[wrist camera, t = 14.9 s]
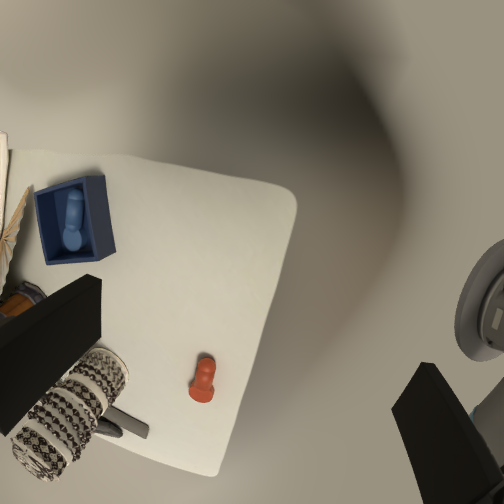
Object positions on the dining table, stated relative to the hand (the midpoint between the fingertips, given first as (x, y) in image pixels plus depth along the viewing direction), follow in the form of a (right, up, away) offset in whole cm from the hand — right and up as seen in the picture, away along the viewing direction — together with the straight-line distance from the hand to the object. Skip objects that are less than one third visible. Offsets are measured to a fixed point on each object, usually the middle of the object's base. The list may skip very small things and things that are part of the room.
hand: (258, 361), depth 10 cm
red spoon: (-7, -15, +30) cm, 35 cm away
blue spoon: (-25, +8, +25) cm, 36 cm away
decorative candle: (-25, -16, +32) cm, 44 cm away
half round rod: (-29, -27, +36) cm, 53 cm away
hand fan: (-47, +8, +28) cm, 55 cm away
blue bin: (-25, +9, +26) cm, 37 cm away
